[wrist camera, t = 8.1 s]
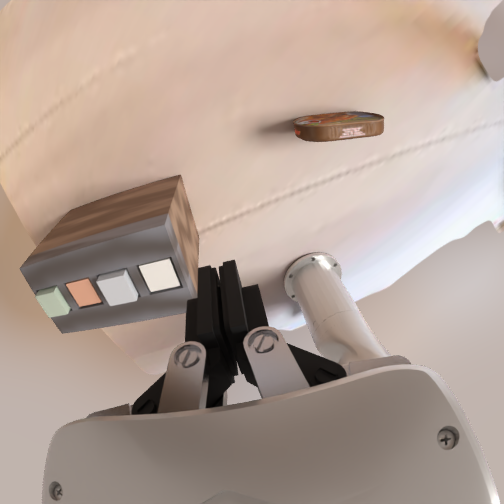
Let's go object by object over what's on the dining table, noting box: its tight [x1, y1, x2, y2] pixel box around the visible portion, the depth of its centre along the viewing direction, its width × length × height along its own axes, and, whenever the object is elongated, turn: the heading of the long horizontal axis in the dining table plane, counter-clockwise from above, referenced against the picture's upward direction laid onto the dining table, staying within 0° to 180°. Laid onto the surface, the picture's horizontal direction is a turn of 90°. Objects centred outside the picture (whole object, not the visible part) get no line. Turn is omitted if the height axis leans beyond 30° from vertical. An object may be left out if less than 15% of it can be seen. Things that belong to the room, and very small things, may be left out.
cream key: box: [139, 257, 181, 292], centre depth 32 cm, size 4×4×2 cm
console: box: [20, 175, 199, 333], centre depth 39 cm, size 12×22×19 cm, turn 100°
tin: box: [293, 112, 384, 142], centre depth 39 cm, size 15×3×8 cm, turn 101°
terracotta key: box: [66, 277, 102, 307], centre depth 32 cm, size 4×4×2 cm
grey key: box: [96, 268, 139, 306], centre depth 31 cm, size 4×4×2 cm
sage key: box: [35, 285, 71, 318], centre depth 31 cm, size 4×4×2 cm
